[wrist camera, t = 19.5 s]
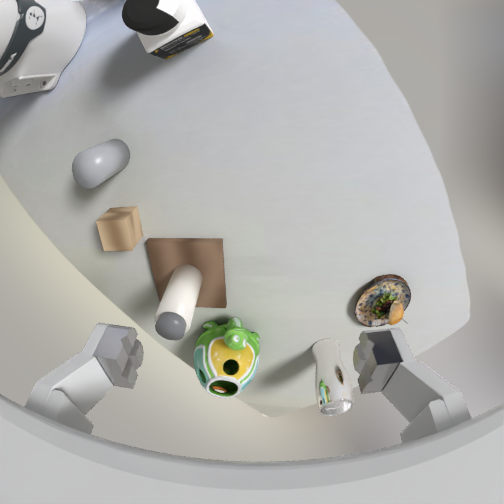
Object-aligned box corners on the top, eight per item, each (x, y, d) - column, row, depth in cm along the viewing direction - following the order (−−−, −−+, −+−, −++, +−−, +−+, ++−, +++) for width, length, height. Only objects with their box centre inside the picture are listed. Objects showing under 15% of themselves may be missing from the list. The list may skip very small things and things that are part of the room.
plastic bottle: (175, 288, 46) (156, 340, 36) (170, 263, 44) (147, 315, 33) (204, 289, 46) (190, 343, 36) (200, 264, 44) (184, 317, 33)
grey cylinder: (103, 172, 37) (75, 190, 30) (99, 141, 34) (69, 153, 28) (131, 169, 37) (106, 187, 30) (128, 136, 34) (100, 147, 27)
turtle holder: (275, 306, 49) (278, 359, 39) (249, 363, 58) (247, 410, 48) (207, 291, 48) (195, 343, 38) (193, 352, 57) (184, 398, 47)
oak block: (117, 235, 43) (104, 250, 38) (110, 207, 40) (95, 221, 36) (143, 235, 43) (131, 250, 38) (137, 206, 40) (124, 219, 36)
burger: (368, 268, 45) (382, 296, 39) (417, 278, 46) (434, 303, 40) (342, 318, 51) (351, 347, 45) (390, 323, 52) (402, 349, 46)
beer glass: (317, 334, 53) (328, 398, 40) (347, 338, 54) (362, 399, 41) (304, 355, 57) (311, 416, 44) (332, 358, 57) (343, 416, 44)
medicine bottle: (166, 60, 29) (127, 48, 19) (147, 23, 26) (105, 2, 15) (215, 36, 27) (195, 10, 17) (194, -2, 24) (168, -36, 14)
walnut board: (162, 300, 49) (160, 304, 48) (148, 238, 43) (146, 241, 42) (226, 303, 49) (225, 308, 48) (222, 238, 42) (221, 242, 41)
